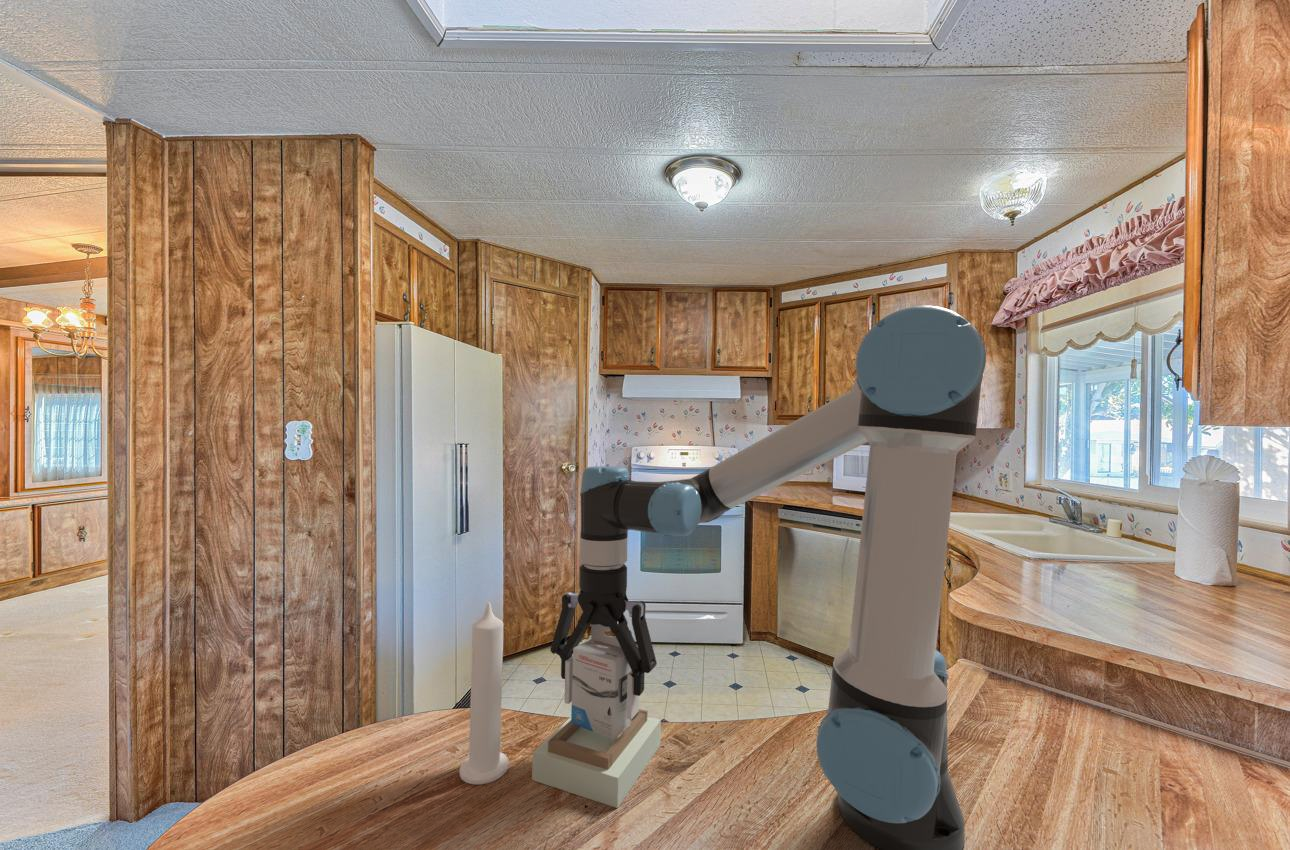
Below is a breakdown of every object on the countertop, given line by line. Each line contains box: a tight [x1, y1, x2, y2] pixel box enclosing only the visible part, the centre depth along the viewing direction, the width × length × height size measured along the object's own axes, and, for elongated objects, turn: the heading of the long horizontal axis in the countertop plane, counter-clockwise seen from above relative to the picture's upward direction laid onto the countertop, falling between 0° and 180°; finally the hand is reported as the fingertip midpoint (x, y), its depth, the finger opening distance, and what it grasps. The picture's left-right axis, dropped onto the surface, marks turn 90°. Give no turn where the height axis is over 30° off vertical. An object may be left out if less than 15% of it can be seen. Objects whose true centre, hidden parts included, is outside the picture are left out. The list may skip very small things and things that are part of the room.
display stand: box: [531, 708, 662, 809], centre depth 79 cm, size 14×16×6 cm
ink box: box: [570, 624, 633, 740], centre depth 79 cm, size 9×5×15 cm, turn 58°
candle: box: [458, 601, 510, 785], centre depth 77 cm, size 7×7×25 cm
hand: (601, 707), depth 79 cm, fingers open, 10 cm apart
